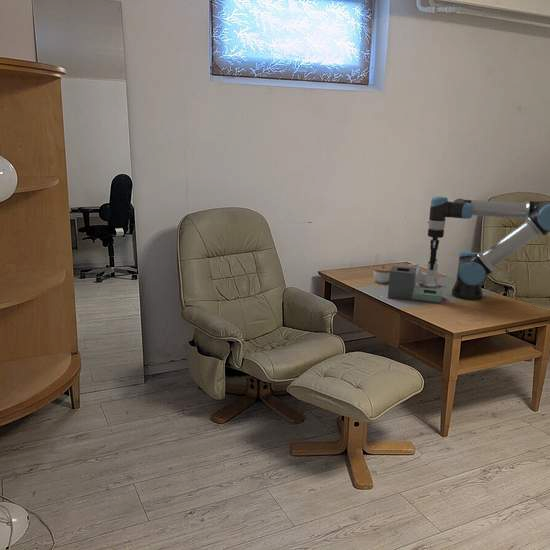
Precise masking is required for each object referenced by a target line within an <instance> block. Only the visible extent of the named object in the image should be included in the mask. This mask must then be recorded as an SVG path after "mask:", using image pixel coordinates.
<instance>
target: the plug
mask: <svg viewBox="0 0 550 550" xmlns="http://www.w3.org/2000/svg"><path fill="white" fill-rule="evenodd" d="M428 262H430V259H429V260H428V261H427V270H426V271H427V272H426V274H427V279H426V283H429V284H430V285H435V275H436V271H437V272H438V268H439V265H438V260H437V261H435V270H434V276H428V273H429V263H428ZM429 284H428V285H429Z"/></svg>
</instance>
